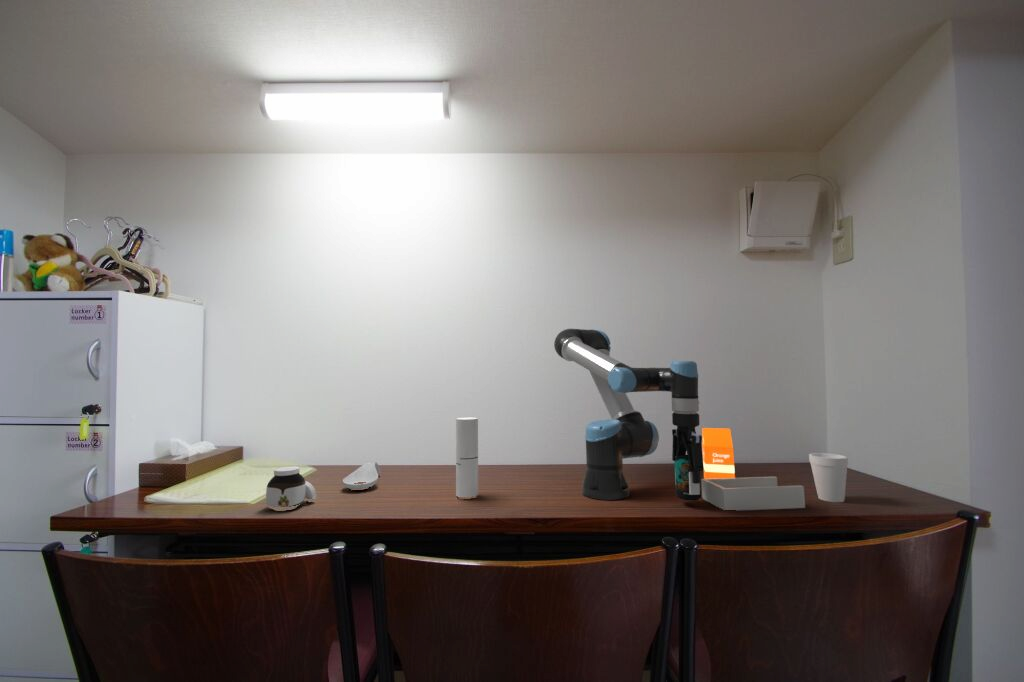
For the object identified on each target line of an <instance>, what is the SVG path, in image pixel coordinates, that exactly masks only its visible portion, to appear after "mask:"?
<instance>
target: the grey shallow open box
mask: <svg viewBox="0 0 1024 682" xmlns="http://www.w3.org/2000/svg"><path fill="white" fill-rule="evenodd" d="M701 498H703V499H702V500H704V501H706V502H708V503H709V502H710V504H712V505H713V506H715V507H716V508H718V507H719V508H718V509H720V508H721V509H720V510H722V509H723V510H722V511H724V510H736V511H755V510H756V511H757V510H758V511H759V510H762V511H763V510H782V509H783V510H785V509H786V510H787V509H806V498H805V486H804V485H780V486H779V485H778V477H777V476H751V477H748V476H747V477H746V476H745V477H735V478H714V479H704V478H701Z"/></svg>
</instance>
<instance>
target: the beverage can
mask: <svg viewBox="0 0 1024 682" xmlns="http://www.w3.org/2000/svg"><path fill="white" fill-rule="evenodd" d="M688 470H690V465H689V460H688V455H687V454H686V455H677V458H676V460H675V461H674V478H675V479H674V481H675V483H674V484H675V495H676V497H677V498H679V499H681V500H683V501H689V502H690V501H694V502H695V501H699V500H700V499H701V498H702V481H701V479H702V478H701V476H702V475H701V471H700V472H699V485H700V495H690V494H689V472H688Z"/></svg>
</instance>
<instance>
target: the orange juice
mask: <svg viewBox="0 0 1024 682" xmlns="http://www.w3.org/2000/svg"><path fill="white" fill-rule="evenodd" d="M701 433H702V435H701V436H702V443H701V444H702V455H703V465H704V471H703V479H714V478H736V475H735V473H736V471H735V458H734V456H735V455H734V446H733V438H732V434H731V428H722V427H721V428H720V427H719V428H717V427H716V428H715V427H713V428H712V427H702V431H701Z"/></svg>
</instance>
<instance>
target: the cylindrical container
mask: <svg viewBox="0 0 1024 682" xmlns="http://www.w3.org/2000/svg"><path fill="white" fill-rule="evenodd" d="M476 495H478V496H479V419H478V417H457V418H455V497H456V496H458V497H472V496H476Z"/></svg>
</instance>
